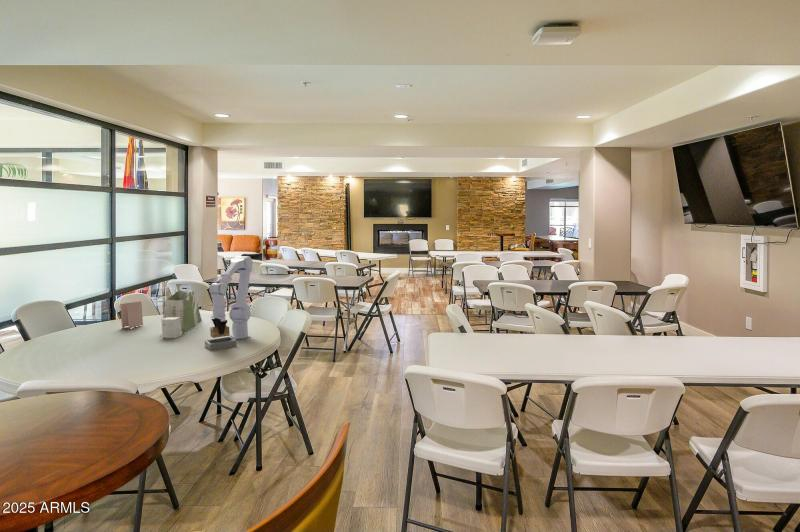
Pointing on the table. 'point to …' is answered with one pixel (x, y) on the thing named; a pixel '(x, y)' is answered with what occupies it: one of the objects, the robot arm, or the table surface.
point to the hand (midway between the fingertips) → (220, 333)
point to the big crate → (220, 343)
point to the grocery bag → (183, 309)
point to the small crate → (216, 334)
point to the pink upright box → (131, 314)
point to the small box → (171, 327)
